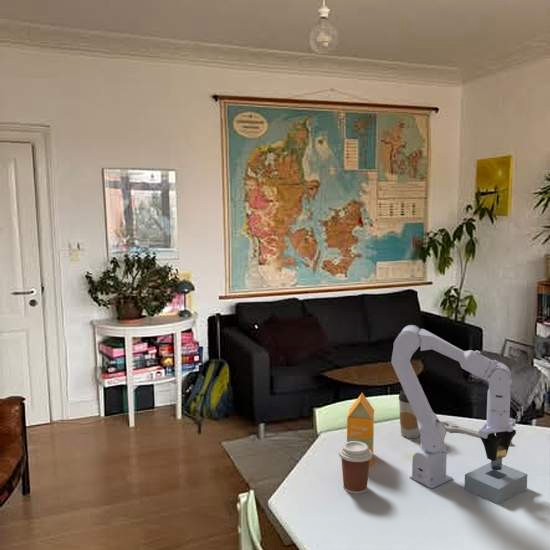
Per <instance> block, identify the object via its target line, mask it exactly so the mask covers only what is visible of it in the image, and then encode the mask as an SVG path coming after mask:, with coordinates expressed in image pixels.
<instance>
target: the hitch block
mask: <svg viewBox="0 0 550 550" xmlns="http://www.w3.org/2000/svg"><path fill="white" fill-rule="evenodd" d="M463 488H464V489H465V490H466V491H469V492H471V493H473V494H475V495H478V496H479V497H482V498H484V499H485V500H488V501H490V502H493V503H494V504H498V505H499V504H501V503H504V501H506V500H508V499H510V498H511V497H513V496H515V495H518V494H519V493H521V492H522V491H524V490H526V489H527V488H528V473H525V472H523V471H520V470H518V469H515V468H513V467H511V466H507V465H506V464H503V463H502V470H494V469H492V468H491V461H490V462H488V463H486V464H484V465H482V466H480V467H478V468H475V469H474V470H471V471H469V472H467V473H465V474H464V487H463Z"/></svg>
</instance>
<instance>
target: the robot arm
mask: <svg viewBox="0 0 550 550" xmlns="http://www.w3.org/2000/svg"><path fill="white" fill-rule="evenodd" d="M419 347H420V352H423V351H429V350H433V351H435V352H436V353H439V354H441V355H444V356H446V357H447V358H450V359H452V360H454V361H457V362H458V363H459V365H460V367H461V369H463V370H465V371H466V372H469V373H470V374H473V375H474V376H476V377H478V378H480V379H482V380H486V381H487V382H488V390H487V400H486V401H487V403H486V422H485V423H484V425H483V426H482V427H481V428H480V429H478V432H479V437H480V438H479V439H480V440H481V442H482V444H483V447H484V451H485V456H486V459H488V460H490V461H491V460H492V461H495V460H496V456H497V449H498V446H502V447H504V448H505V449H506V456H507V454H508V452H509V449H510V446H509V445H510V443H511V441H513V438H514V437H515V435H516V434H517V430H516V429H515V428H514V427H516V424H517V421H516V420H517V419H515V418H512V417H511V416H510V415H511V412H510V411H511V385H512V383H513V379H512V373H511V370H510V368H509V367H508V366H507V365H506V364H504V363H503V362H501V361H498V360H496V359H491V358H488V357H486V356H484V355H482V354H481V351H479V350H477V349H476V350H472V349H469V350H463V349H461V348H459V347H457V346H455V345H453V344H451V343H450V342H449V341H446V340H444V339H443V338H441V337H440V336H438V335H436V334H434V333H432V332H430V331H429V330H426V329H425V328H420V327H418V326H417V325H414V324H409V325H406V326H405V327H403V328H402V330H401V332H400V333H398V335H397V337H396V338H395V340H394V342H393V349H392V355H391V365H392V368H393V369H394V372H395V374H396V376H397V379H398V381H399V383H400V384H401V388H402V390H404V392H405V394H406V396H407V399H408V401H409V403H410V405H411V408H412V410H413V412H414V414H415V416H416V419H417V423H418V429H419V432H420V445H419V449H418V451H417V452H415V453H414V454H413V455H412V463H411V466H412V470H411V471H412V472H411V474H410V475H409V478H410V479H412V480H414V481H417V482H418V483H420V484H422V485H425V486H426V487H428V488H431V489H433V488H437V486H438V487H439V486H441V485H442V484H444V483H446V482H449V481H451V480H452V479H453V476H452V475H449V474H447V458H448V457H447V455H448V454H447V453H448V452H447V451H448V450H447V448H448V447H447V445H446V444H445V438H446V435H447V431H446V428H445V426H444V424H443V423H442V422H440V419H439V418H438V416H437V414H436V413H435V412H434V411H433V409H432V407H431V405H430V403H429V401H428V398H427V395H426V394H425V392H424V390H423V387H422V384H421V383H420V381H419V378H418V377H417V374H416V372H415V370H414V368H413V365H412V363H411V359H412V356H413V355H414V353H416V351H417V350H418V349H419Z"/></svg>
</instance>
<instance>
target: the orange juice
mask: <svg viewBox="0 0 550 550" xmlns="http://www.w3.org/2000/svg"><path fill="white" fill-rule="evenodd" d="M374 414H375V409H374V408H373V406H372V405H371V403H370V401H369V400H368V399H367V398H366V396H365V394H364V393H363V392H361V394H360V395H359V396H358V398H356V400H355V401H354V403H352V405H351V407H350V408H349V410H348V414H347V417H346V442H350V441H358V442H362V443H365V444H366V445H367V446H368V448H369V450H371V452H372V458H371V459H370V461H369V467H372V466H373V460H374V459H373V458H374V438H375V435H374V433H375V427H374V426H375V425H374V424H375V420H374V419H375V417H374Z"/></svg>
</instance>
